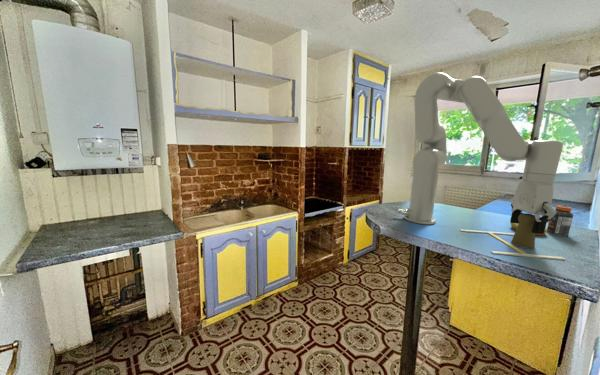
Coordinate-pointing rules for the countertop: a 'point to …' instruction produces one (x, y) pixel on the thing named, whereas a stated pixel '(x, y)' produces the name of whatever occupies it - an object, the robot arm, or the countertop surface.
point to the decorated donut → (515, 225)
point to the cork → (525, 232)
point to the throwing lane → (512, 246)
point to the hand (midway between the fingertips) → (525, 227)
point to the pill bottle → (560, 221)
